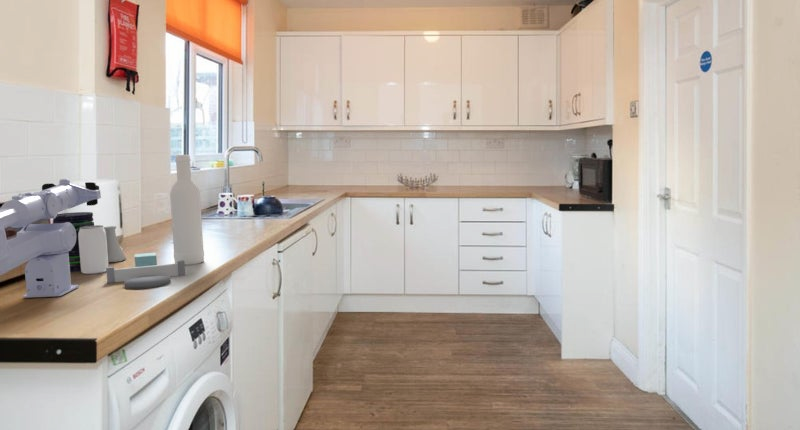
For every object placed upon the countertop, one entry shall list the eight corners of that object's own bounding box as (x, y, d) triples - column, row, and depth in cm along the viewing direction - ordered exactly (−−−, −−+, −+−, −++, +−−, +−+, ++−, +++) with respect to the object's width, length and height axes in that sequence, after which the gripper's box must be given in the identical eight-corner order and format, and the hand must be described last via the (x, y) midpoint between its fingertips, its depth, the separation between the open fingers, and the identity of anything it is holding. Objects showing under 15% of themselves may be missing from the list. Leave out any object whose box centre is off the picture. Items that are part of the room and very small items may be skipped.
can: (78, 275, 155) (74, 228, 153) (84, 270, 161) (80, 226, 160) (106, 273, 156) (102, 227, 155) (110, 268, 163) (107, 224, 161)
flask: (117, 258, 180) (115, 224, 179) (131, 260, 176) (128, 226, 175) (93, 262, 174) (90, 227, 173) (106, 264, 170) (104, 229, 169)
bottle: (168, 264, 167) (160, 155, 164) (188, 259, 174) (181, 154, 171) (190, 265, 164) (183, 154, 161) (210, 260, 171) (204, 154, 168)
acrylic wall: (184, 274, 152) (184, 260, 152) (185, 275, 151) (184, 261, 151) (107, 281, 146) (106, 267, 145) (107, 283, 144) (106, 268, 144)
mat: (163, 287, 137) (163, 283, 137) (117, 289, 137) (117, 285, 136) (175, 278, 147) (175, 274, 147) (133, 280, 146) (132, 276, 146)
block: (156, 271, 158) (155, 252, 157) (157, 274, 153) (156, 255, 153) (136, 273, 156) (134, 254, 155) (136, 276, 151) (134, 257, 151)
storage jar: (74, 265, 170) (70, 212, 168) (105, 265, 168) (101, 212, 166) (47, 272, 160) (42, 216, 159) (79, 272, 158) (75, 216, 157)
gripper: (87, 180, 139) (110, 173, 152) (21, 182, 138) (49, 175, 151) (91, 211, 140) (113, 201, 154) (25, 213, 139) (53, 203, 152)
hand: (82, 190), depth 152 cm, fingers open, 7 cm apart
